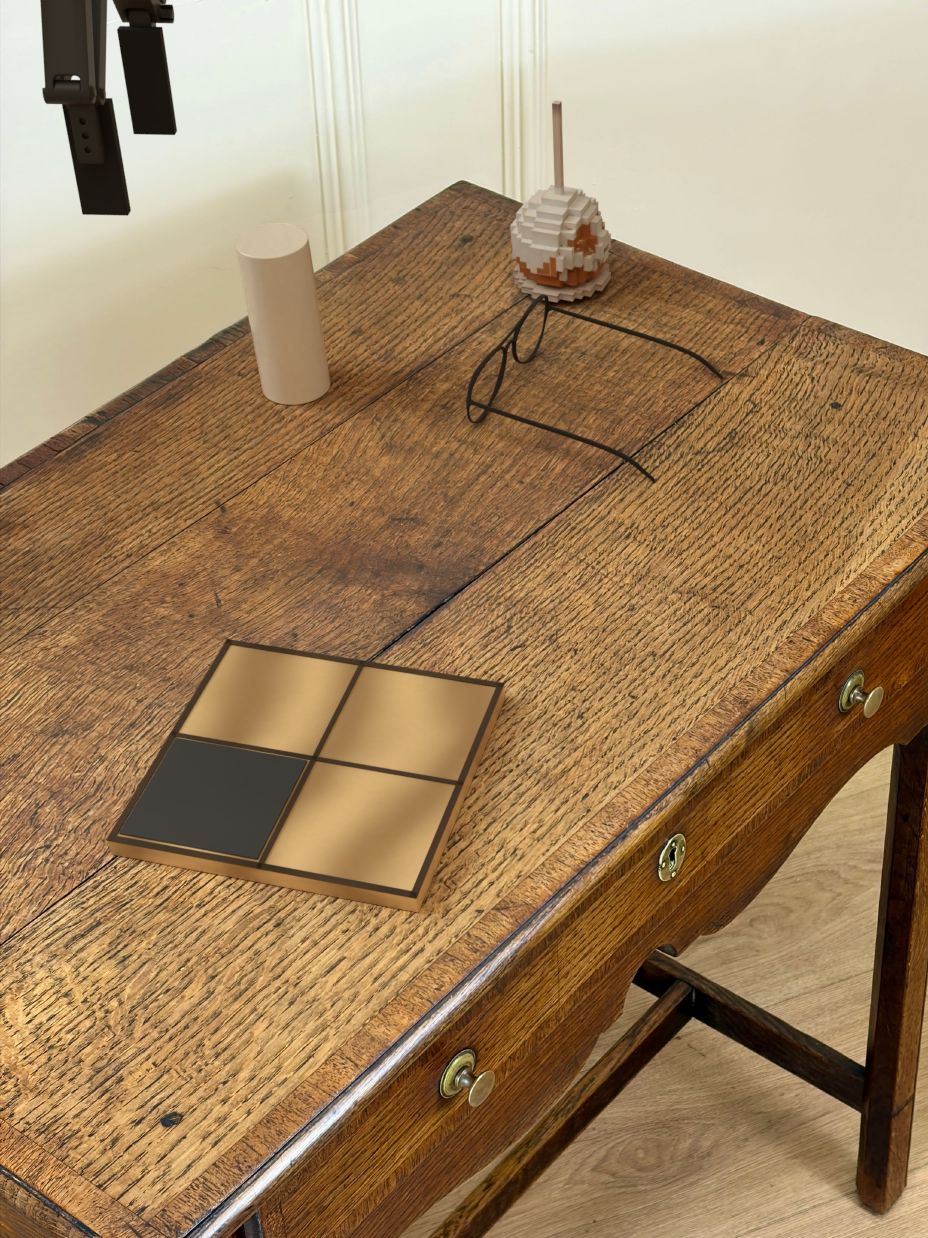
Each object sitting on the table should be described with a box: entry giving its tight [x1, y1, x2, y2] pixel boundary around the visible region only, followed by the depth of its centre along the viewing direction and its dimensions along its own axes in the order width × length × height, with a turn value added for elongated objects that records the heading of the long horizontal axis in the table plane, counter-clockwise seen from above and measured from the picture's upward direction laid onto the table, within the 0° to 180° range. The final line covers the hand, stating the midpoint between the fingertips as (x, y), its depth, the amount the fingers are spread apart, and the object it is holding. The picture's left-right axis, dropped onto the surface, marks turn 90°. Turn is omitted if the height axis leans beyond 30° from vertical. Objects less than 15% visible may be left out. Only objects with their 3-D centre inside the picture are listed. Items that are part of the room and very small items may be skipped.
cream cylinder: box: [234, 222, 331, 406], centre depth 116 cm, size 5×5×12 cm
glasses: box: [465, 294, 724, 483], centre depth 116 cm, size 14×15×5 cm
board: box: [105, 638, 506, 913], centre depth 92 cm, size 18×17×1 cm
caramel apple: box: [509, 100, 612, 303], centre depth 125 cm, size 8×8×15 cm
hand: (132, 171), depth 99 cm, fingers open, 13 cm apart
